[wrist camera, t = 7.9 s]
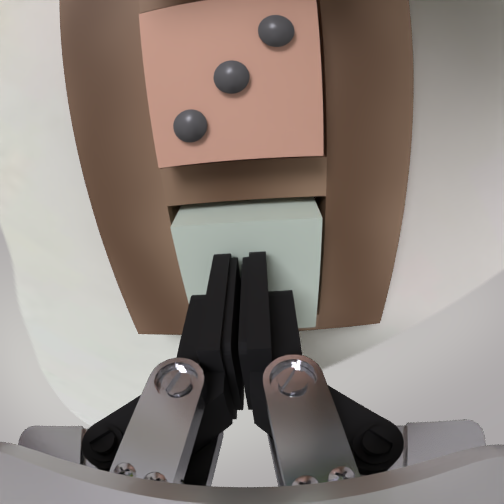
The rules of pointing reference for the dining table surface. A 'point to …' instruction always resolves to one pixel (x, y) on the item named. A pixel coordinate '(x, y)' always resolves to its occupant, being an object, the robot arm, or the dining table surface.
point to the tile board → (247, 170)
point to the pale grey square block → (254, 244)
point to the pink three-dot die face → (233, 80)
